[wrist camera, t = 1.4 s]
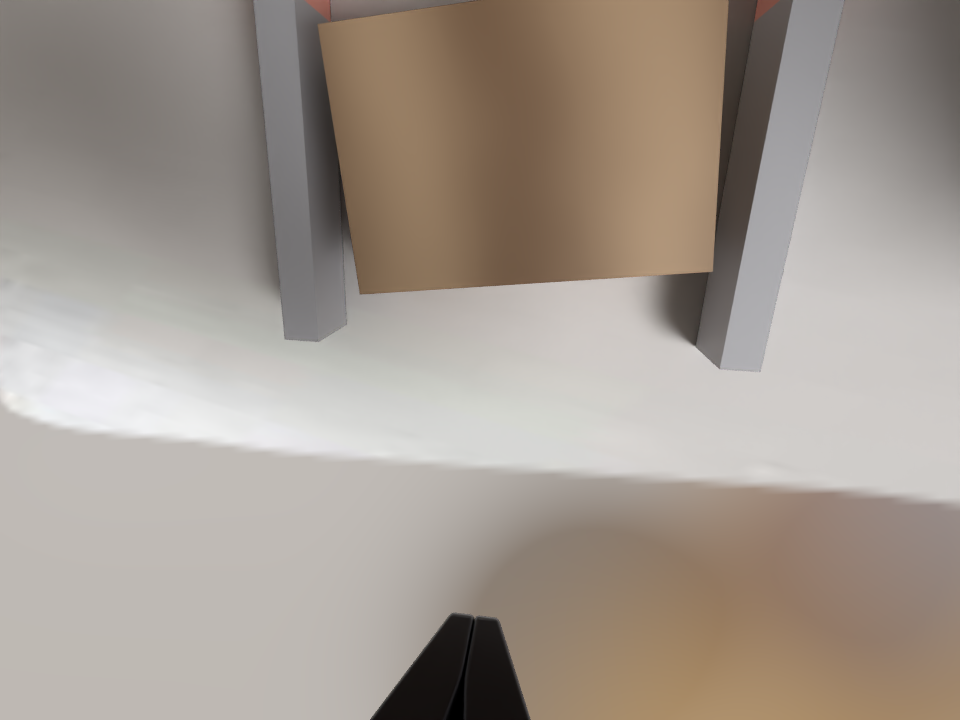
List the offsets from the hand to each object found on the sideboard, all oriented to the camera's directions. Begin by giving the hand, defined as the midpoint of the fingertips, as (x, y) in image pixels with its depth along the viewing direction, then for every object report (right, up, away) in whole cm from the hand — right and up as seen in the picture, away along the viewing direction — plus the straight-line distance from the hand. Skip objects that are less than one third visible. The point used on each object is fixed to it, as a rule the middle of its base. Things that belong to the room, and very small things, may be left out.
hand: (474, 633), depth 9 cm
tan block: (+2, +11, +8) cm, 14 cm away
